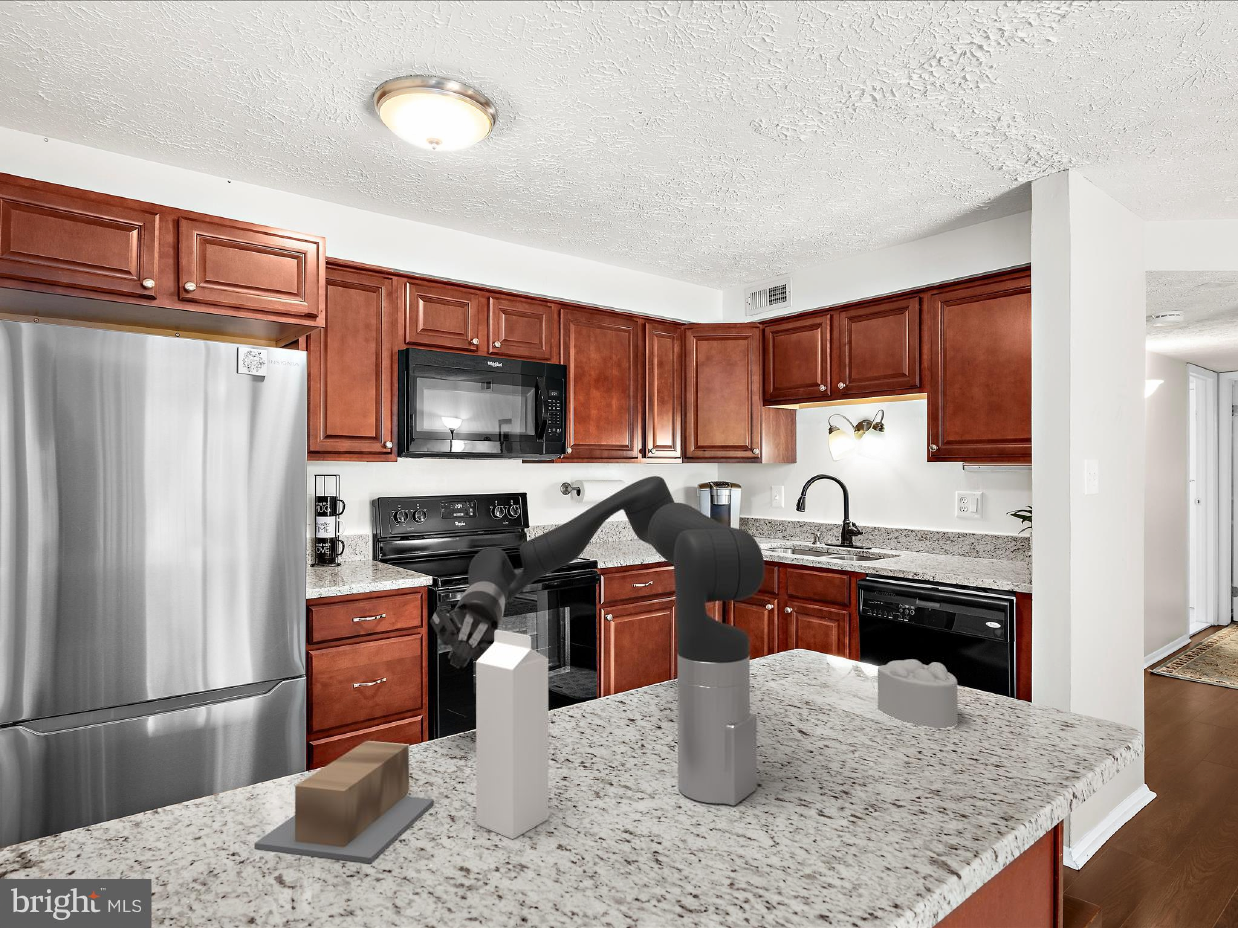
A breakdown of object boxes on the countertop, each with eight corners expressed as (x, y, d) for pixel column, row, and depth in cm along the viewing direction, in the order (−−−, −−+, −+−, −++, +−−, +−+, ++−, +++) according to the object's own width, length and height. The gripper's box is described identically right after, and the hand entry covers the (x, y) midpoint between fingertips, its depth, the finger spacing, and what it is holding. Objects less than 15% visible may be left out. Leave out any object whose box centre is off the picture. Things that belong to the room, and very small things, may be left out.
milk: (512, 806, 89) (512, 624, 90) (549, 819, 86) (549, 630, 86) (474, 825, 84) (475, 633, 85) (512, 840, 81) (512, 640, 81)
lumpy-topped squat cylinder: (920, 702, 129) (919, 653, 129) (975, 726, 117) (975, 672, 117) (869, 707, 126) (869, 657, 126) (920, 733, 114) (920, 677, 114)
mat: (332, 793, 93) (332, 788, 93) (433, 803, 90) (433, 799, 90) (254, 848, 79) (254, 842, 79) (370, 863, 76) (370, 857, 76)
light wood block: (367, 739, 93) (295, 785, 80) (409, 743, 92) (344, 790, 78) (367, 787, 93) (295, 841, 80) (409, 791, 92) (344, 847, 78)
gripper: (503, 648, 122) (485, 703, 105) (433, 609, 120) (403, 659, 103) (525, 612, 120) (511, 662, 103) (455, 573, 119) (428, 616, 102)
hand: (457, 660), depth 103 cm, fingers closed
